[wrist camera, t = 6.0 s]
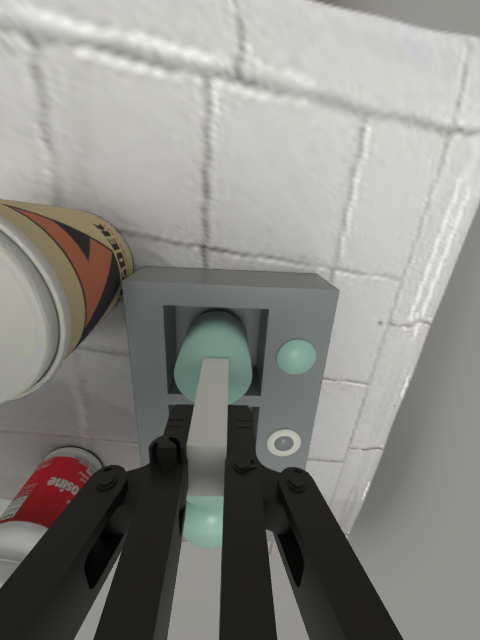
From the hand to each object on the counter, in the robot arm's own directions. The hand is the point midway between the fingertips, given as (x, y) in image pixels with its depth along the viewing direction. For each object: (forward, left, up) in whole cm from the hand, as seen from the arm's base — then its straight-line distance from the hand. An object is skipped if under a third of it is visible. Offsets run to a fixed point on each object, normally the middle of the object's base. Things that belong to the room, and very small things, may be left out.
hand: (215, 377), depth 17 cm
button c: (0, 0, -5) cm, 5 cm away
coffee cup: (-11, +5, -8) cm, 14 cm away
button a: (0, -16, -6) cm, 17 cm away
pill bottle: (-15, -17, -8) cm, 24 cm away
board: (+1, -8, -8) cm, 11 cm away
